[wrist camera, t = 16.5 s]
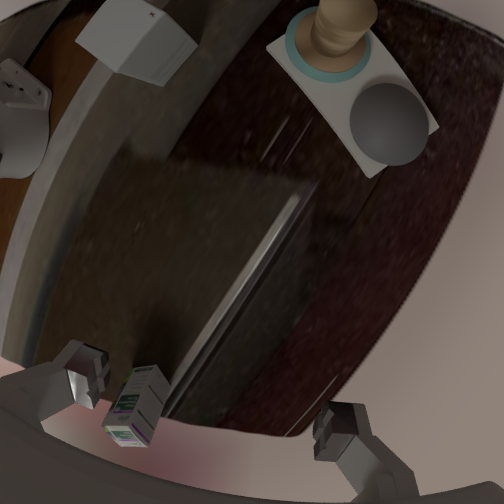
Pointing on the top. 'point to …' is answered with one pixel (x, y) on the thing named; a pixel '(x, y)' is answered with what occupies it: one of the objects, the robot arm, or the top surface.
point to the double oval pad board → (363, 102)
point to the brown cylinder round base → (335, 34)
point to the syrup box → (137, 407)
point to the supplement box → (137, 40)
